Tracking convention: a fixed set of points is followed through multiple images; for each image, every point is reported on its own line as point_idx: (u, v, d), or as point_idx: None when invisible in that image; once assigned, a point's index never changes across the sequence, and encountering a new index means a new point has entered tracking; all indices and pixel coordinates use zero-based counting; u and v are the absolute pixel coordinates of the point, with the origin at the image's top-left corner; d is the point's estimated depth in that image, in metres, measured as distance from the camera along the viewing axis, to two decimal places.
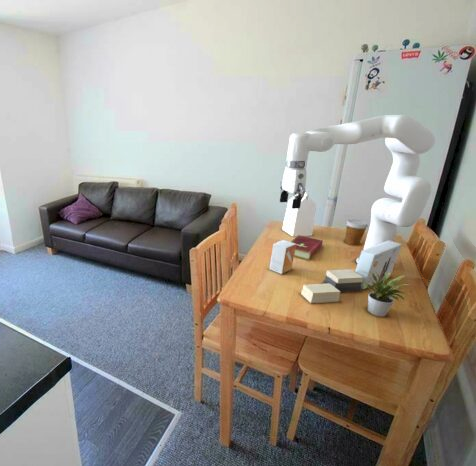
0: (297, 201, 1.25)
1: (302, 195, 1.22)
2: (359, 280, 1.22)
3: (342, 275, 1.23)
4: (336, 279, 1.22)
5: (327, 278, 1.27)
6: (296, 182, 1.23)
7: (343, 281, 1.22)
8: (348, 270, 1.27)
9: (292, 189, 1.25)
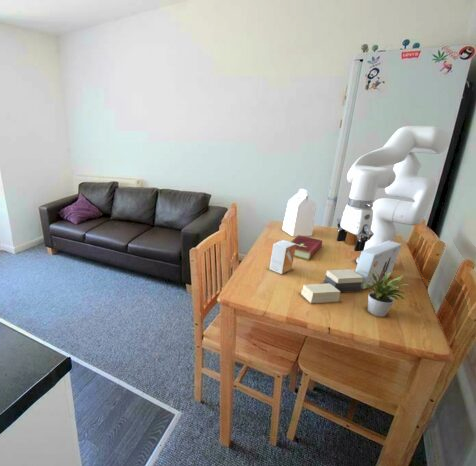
0: (361, 244, 1.14)
1: (368, 238, 1.11)
2: (359, 280, 1.22)
3: (342, 275, 1.23)
4: (336, 279, 1.22)
5: (327, 278, 1.27)
6: (361, 223, 1.12)
7: (343, 281, 1.22)
8: (348, 270, 1.27)
9: (356, 230, 1.14)
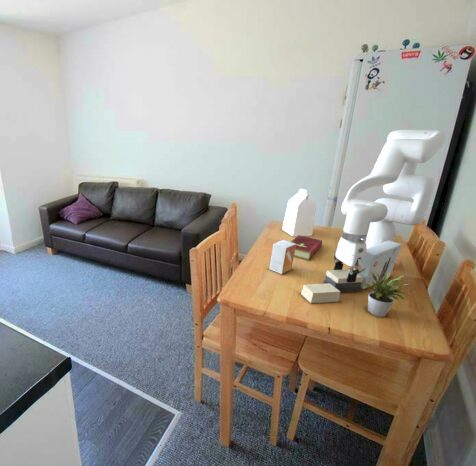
0: (353, 276, 1.19)
1: (360, 271, 1.17)
2: (359, 280, 1.22)
3: (342, 275, 1.23)
4: (336, 279, 1.22)
5: (327, 278, 1.27)
6: (355, 256, 1.16)
7: (343, 281, 1.22)
8: (348, 270, 1.27)
9: (350, 262, 1.18)
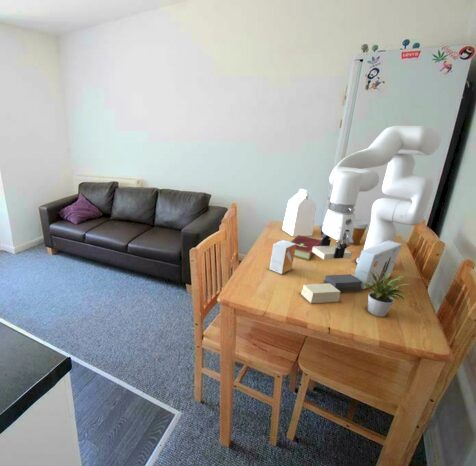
0: (341, 250, 1.09)
1: (347, 245, 1.06)
2: (347, 256, 1.11)
3: (329, 251, 1.12)
4: (322, 255, 1.12)
5: (327, 278, 1.27)
6: (343, 229, 1.06)
7: (330, 257, 1.11)
8: (336, 246, 1.16)
9: (337, 236, 1.08)
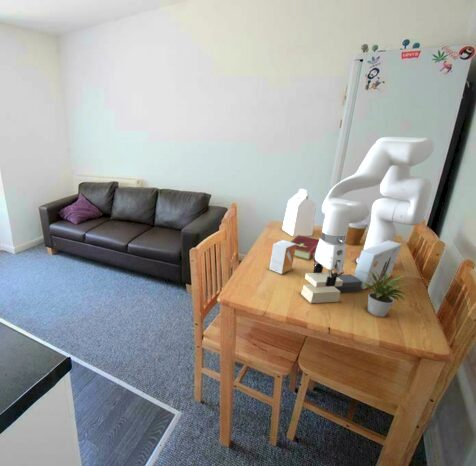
0: (332, 279, 1.12)
1: (339, 275, 1.10)
2: (339, 284, 1.15)
3: (321, 279, 1.16)
4: (314, 283, 1.15)
5: None
6: (334, 259, 1.09)
7: (322, 285, 1.15)
8: (328, 273, 1.20)
9: (329, 265, 1.11)
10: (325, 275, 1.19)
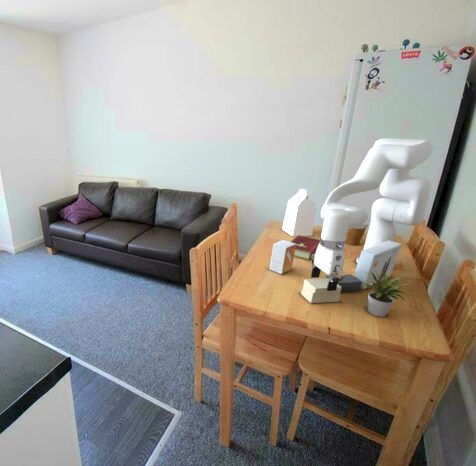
0: (333, 284, 1.12)
1: (340, 279, 1.09)
2: (337, 290, 1.16)
3: (320, 285, 1.17)
4: (313, 289, 1.16)
5: None
6: (333, 264, 1.10)
7: (320, 291, 1.16)
8: (327, 279, 1.21)
9: (328, 270, 1.12)
10: (324, 281, 1.19)
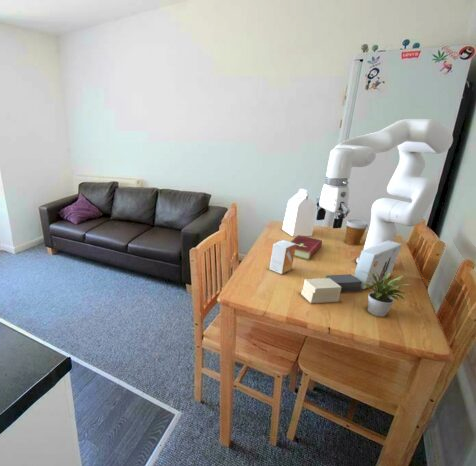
0: (339, 221, 1.17)
1: (345, 215, 1.14)
2: (337, 290, 1.16)
3: (320, 285, 1.17)
4: (313, 289, 1.16)
5: None
6: (338, 201, 1.15)
7: (320, 291, 1.16)
8: (327, 279, 1.21)
9: (333, 208, 1.17)
10: (324, 281, 1.19)
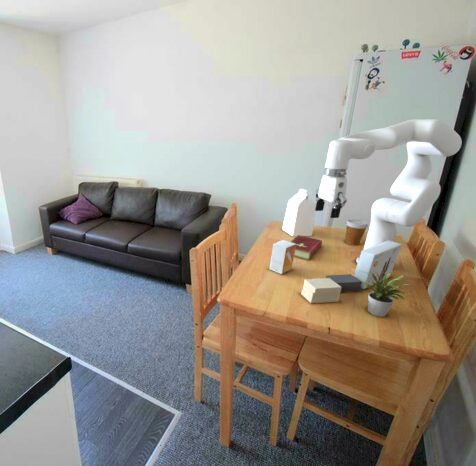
0: (336, 210, 1.21)
1: (342, 204, 1.18)
2: (337, 290, 1.16)
3: (320, 285, 1.17)
4: (313, 289, 1.16)
5: None
6: (336, 191, 1.19)
7: (320, 291, 1.16)
8: (327, 279, 1.21)
9: (331, 198, 1.21)
10: (324, 281, 1.19)
